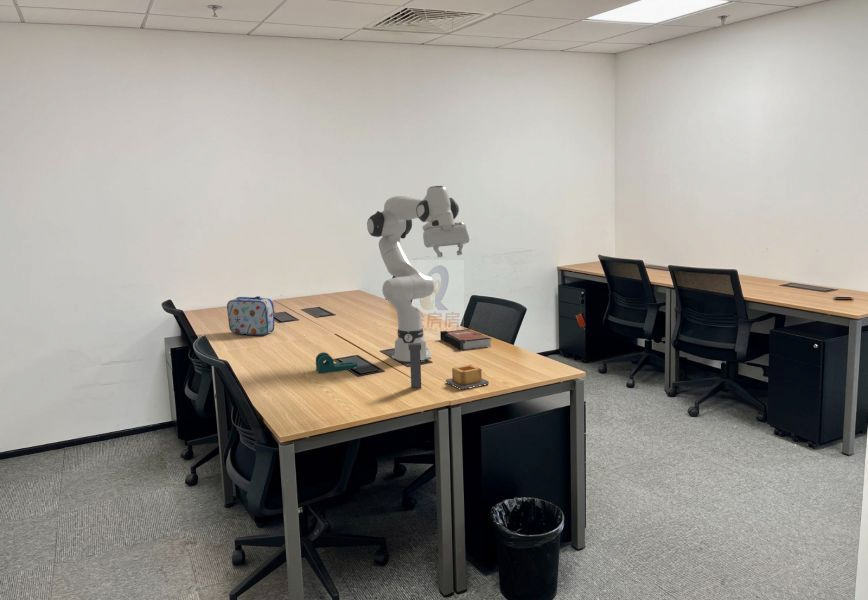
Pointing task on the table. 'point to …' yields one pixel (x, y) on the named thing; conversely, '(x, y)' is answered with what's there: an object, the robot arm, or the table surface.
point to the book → (465, 339)
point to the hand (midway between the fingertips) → (450, 256)
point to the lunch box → (251, 315)
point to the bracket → (331, 364)
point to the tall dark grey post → (415, 364)
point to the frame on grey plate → (466, 377)
